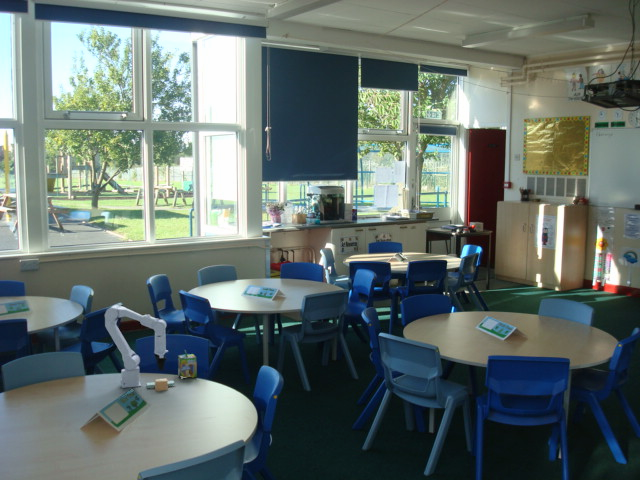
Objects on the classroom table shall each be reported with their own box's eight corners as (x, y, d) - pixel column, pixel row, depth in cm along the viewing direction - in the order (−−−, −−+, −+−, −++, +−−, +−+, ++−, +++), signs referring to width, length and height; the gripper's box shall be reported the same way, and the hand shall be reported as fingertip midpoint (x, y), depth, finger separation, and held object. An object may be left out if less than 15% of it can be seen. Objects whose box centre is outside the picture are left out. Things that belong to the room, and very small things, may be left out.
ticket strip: (147, 388, 334) (147, 385, 334) (146, 385, 338) (146, 382, 338) (174, 386, 338) (174, 383, 338) (173, 383, 343) (173, 380, 343)
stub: (155, 391, 330) (155, 381, 330) (155, 388, 335) (154, 379, 334) (167, 390, 332) (167, 380, 332) (166, 387, 337) (166, 378, 336)
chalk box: (197, 377, 354) (196, 351, 353) (180, 379, 351) (180, 353, 349) (194, 373, 362) (194, 347, 361) (177, 374, 359) (177, 349, 358)
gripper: (169, 345, 333) (169, 371, 334) (166, 339, 346) (166, 363, 347) (155, 346, 330) (155, 372, 331) (153, 340, 344) (153, 364, 345)
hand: (160, 368), depth 339 cm, fingers open, 7 cm apart
